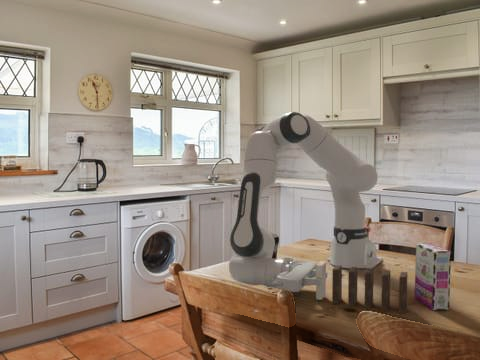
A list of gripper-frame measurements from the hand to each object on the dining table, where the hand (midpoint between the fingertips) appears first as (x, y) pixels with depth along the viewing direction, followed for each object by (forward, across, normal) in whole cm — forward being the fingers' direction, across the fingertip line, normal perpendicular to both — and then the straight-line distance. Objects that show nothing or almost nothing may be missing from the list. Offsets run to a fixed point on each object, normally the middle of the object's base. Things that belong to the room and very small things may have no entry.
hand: (324, 278), depth 132 cm
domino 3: (+13, 0, +6) cm, 14 cm away
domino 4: (+17, 0, +6) cm, 18 cm away
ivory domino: (-1, 0, +6) cm, 6 cm away
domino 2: (+8, 0, +6) cm, 10 cm away
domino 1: (+4, 0, +6) cm, 7 cm away
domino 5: (+22, 0, +6) cm, 23 cm away
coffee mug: (-30, +37, +6) cm, 48 cm away
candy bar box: (+29, +8, +6) cm, 31 cm away
